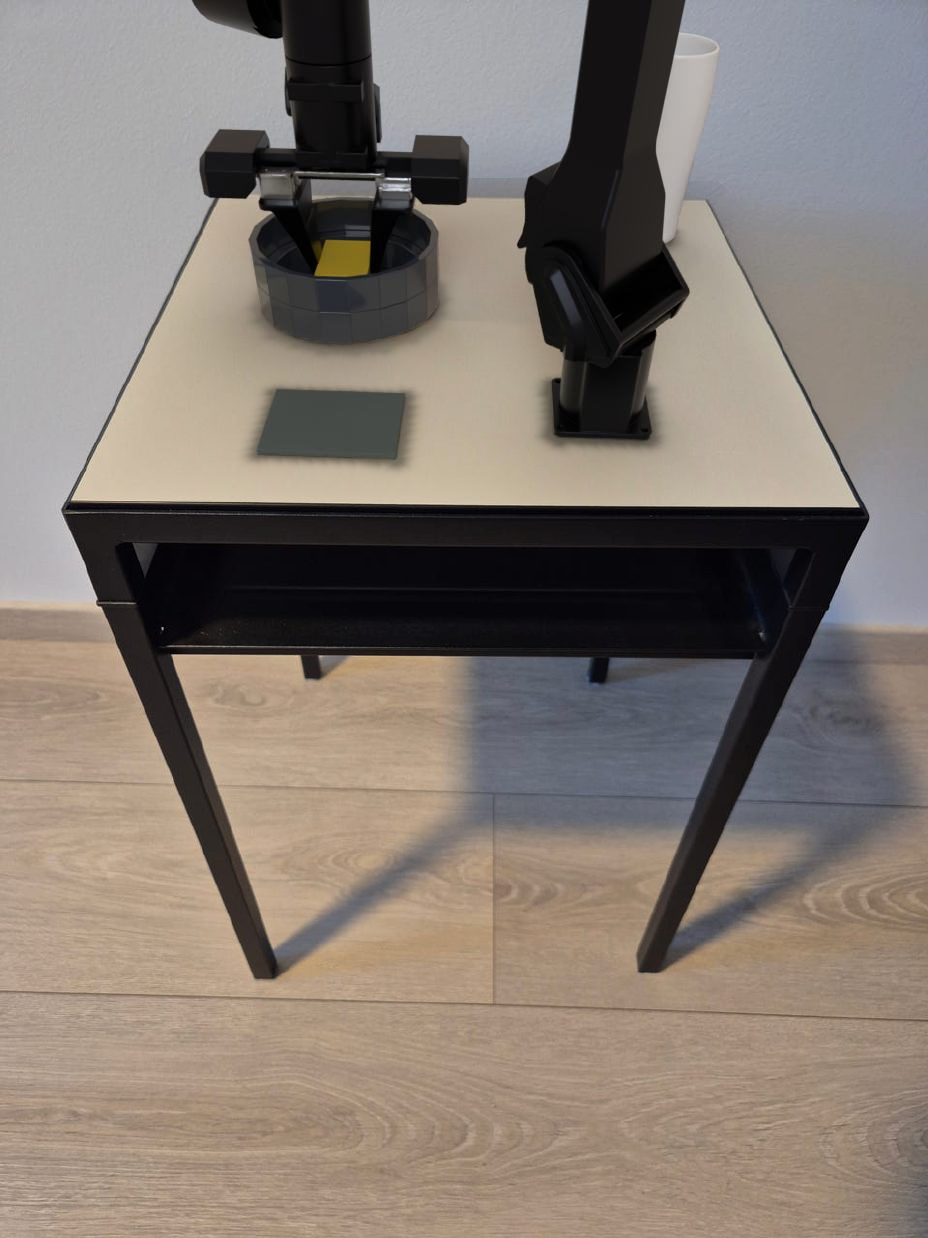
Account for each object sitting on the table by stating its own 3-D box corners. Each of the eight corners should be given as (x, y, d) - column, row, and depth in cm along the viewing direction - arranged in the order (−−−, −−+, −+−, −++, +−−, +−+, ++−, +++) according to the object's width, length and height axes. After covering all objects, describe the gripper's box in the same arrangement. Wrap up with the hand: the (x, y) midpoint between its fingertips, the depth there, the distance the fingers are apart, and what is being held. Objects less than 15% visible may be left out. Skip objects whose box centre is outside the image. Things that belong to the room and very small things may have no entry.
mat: (395, 459, 56) (395, 454, 55) (257, 454, 56) (256, 449, 56) (405, 397, 60) (404, 392, 60) (277, 393, 61) (276, 388, 60)
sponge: (369, 313, 67) (366, 276, 65) (318, 311, 67) (313, 274, 65) (377, 276, 71) (375, 240, 69) (329, 275, 71) (325, 239, 69)
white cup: (681, 256, 76) (721, 59, 64) (604, 248, 76) (630, 52, 65) (683, 223, 80) (721, 34, 69) (610, 216, 81) (636, 28, 70)
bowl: (433, 353, 64) (432, 282, 60) (244, 347, 65) (230, 276, 61) (443, 265, 74) (443, 199, 70) (278, 260, 74) (269, 193, 70)
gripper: (473, 22, 62) (469, 239, 74) (214, 15, 62) (251, 232, 74) (468, 71, 55) (464, 304, 66) (175, 62, 55) (222, 296, 66)
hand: (348, 281), depth 68 cm, fingers closed on sponge, 4 cm apart
